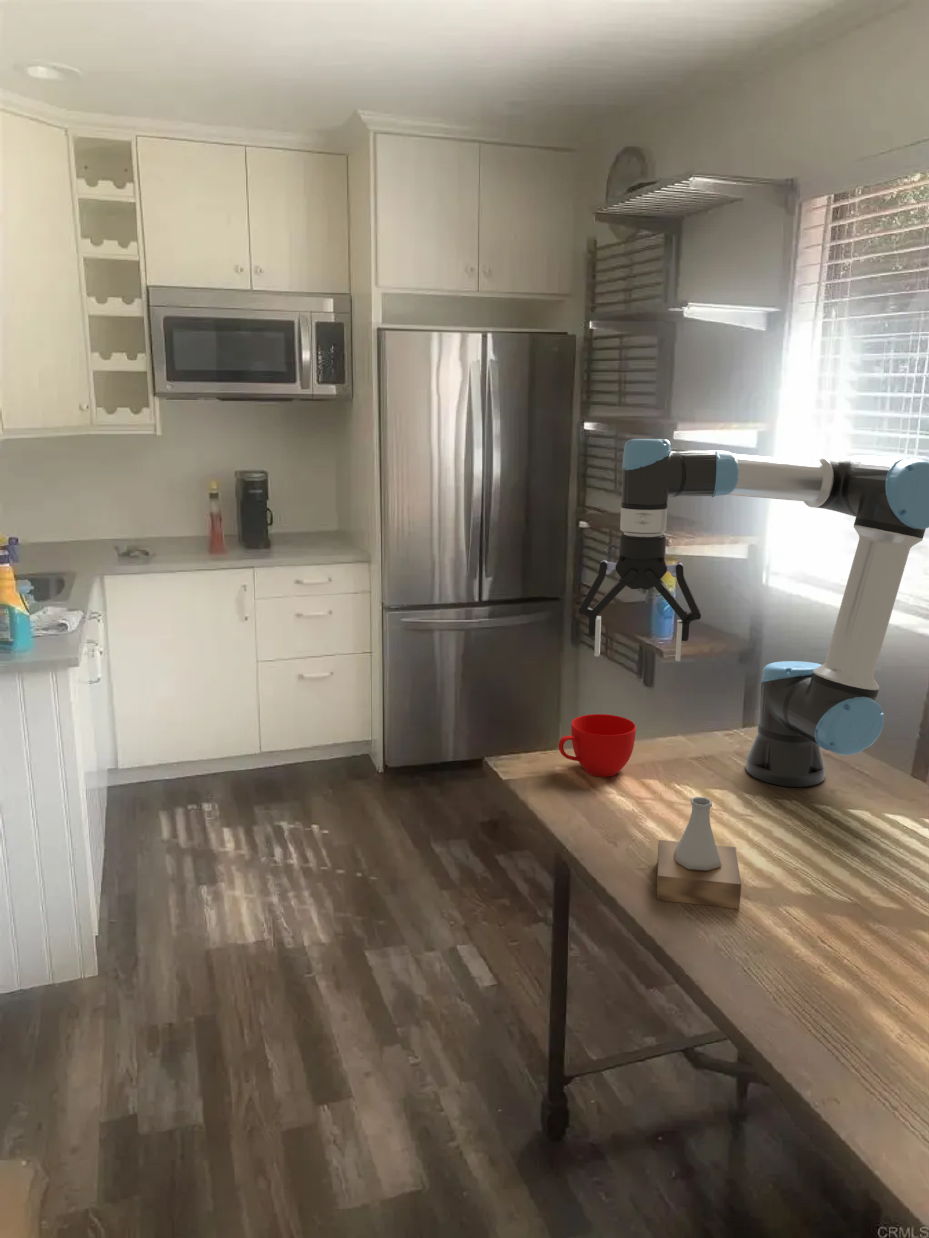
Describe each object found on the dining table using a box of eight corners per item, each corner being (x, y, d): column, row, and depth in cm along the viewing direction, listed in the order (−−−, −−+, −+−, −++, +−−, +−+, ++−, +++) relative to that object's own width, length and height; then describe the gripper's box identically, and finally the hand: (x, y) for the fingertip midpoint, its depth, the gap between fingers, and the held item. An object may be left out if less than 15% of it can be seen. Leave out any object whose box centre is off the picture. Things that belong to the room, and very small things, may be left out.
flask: (709, 848, 146) (713, 789, 144) (729, 870, 139) (734, 809, 137) (666, 851, 145) (669, 792, 143) (684, 874, 138) (688, 812, 136)
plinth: (733, 869, 148) (735, 847, 147) (739, 908, 136) (741, 884, 135) (657, 862, 150) (658, 839, 149) (656, 899, 138) (658, 875, 138)
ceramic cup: (541, 768, 189) (542, 722, 186) (608, 755, 196) (610, 710, 194) (576, 791, 178) (578, 742, 175) (646, 776, 185) (649, 729, 183)
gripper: (565, 534, 152) (562, 658, 156) (721, 538, 147) (713, 666, 151) (569, 528, 159) (566, 647, 163) (719, 532, 154) (711, 655, 158)
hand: (637, 656), depth 157 cm, fingers open, 13 cm apart
